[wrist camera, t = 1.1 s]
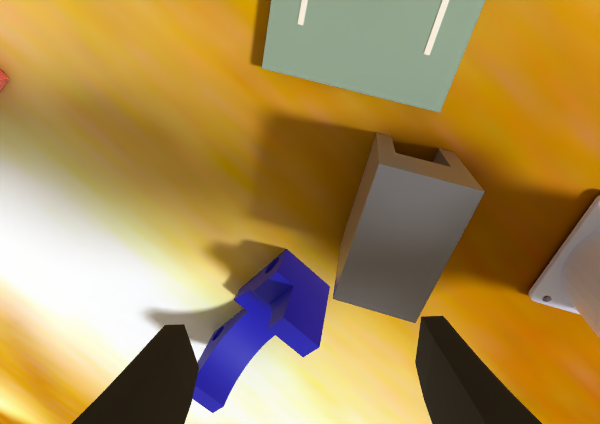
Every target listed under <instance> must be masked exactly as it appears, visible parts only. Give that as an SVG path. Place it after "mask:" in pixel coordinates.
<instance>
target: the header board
mask: <svg viewBox="0 0 600 424" xmlns="http://www.w3.org/2000/svg"><path fill="white" fill-rule="evenodd" d="M484 2H485V0H271V6H270V13H269V21H268V28H267V35H266V42H265V49H264V56H263V63H262V69H266V70H270V71H274V72H278V73H282V74H286V75H290V76H294V77H298V78H302V79H306V80H311V81H315V82H319V83H323V84H327V85H331V86H335V87H339V88H343V89H347V90H351V91H355V92H359V93H363V94H367V95H371V96H375V97H379V98H383V99H387V100H391V101H395V102H399V103H403V104H407V105H411V106H415V107H419V108H423V109H427V110H431V111H435V112H439V113H440V111H441V108H442V106H443V103H444V101H445V99H446V96H447V94H448V91H449V89H450V86H451V84H452V81H453V79H454V76H455V74H456V71H457V69H458V66H459V64H460V62H461V59H462V57H463V54H464V52H465V49H466V47H467V44H468V42H469V39H470V37H471V34H472V32H473V29H474V27H475V24H476V22H477V20H478V17H479V15H480V12H481V10H482V7H483V5H484Z"/></svg>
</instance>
